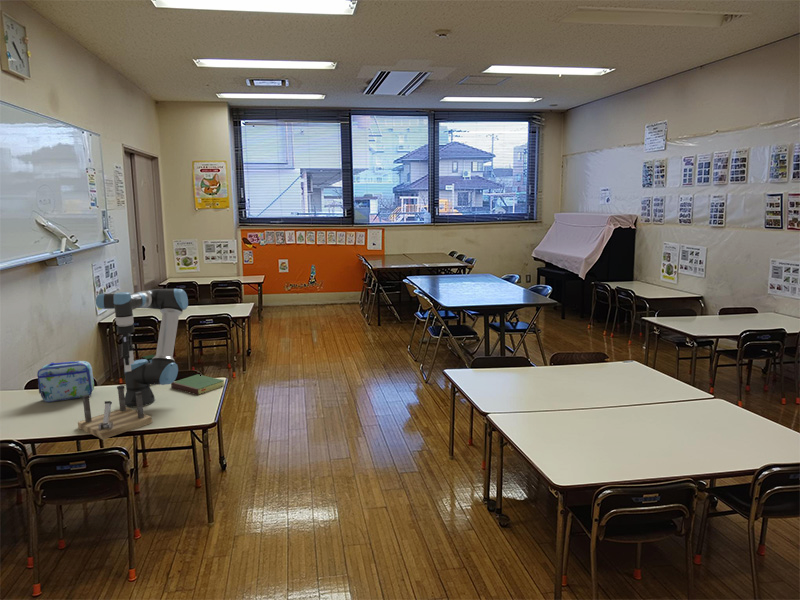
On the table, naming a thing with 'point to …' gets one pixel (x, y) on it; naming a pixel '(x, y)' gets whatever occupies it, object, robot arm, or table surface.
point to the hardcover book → (197, 384)
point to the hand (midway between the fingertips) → (129, 367)
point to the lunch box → (65, 380)
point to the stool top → (115, 417)
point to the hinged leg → (106, 415)
